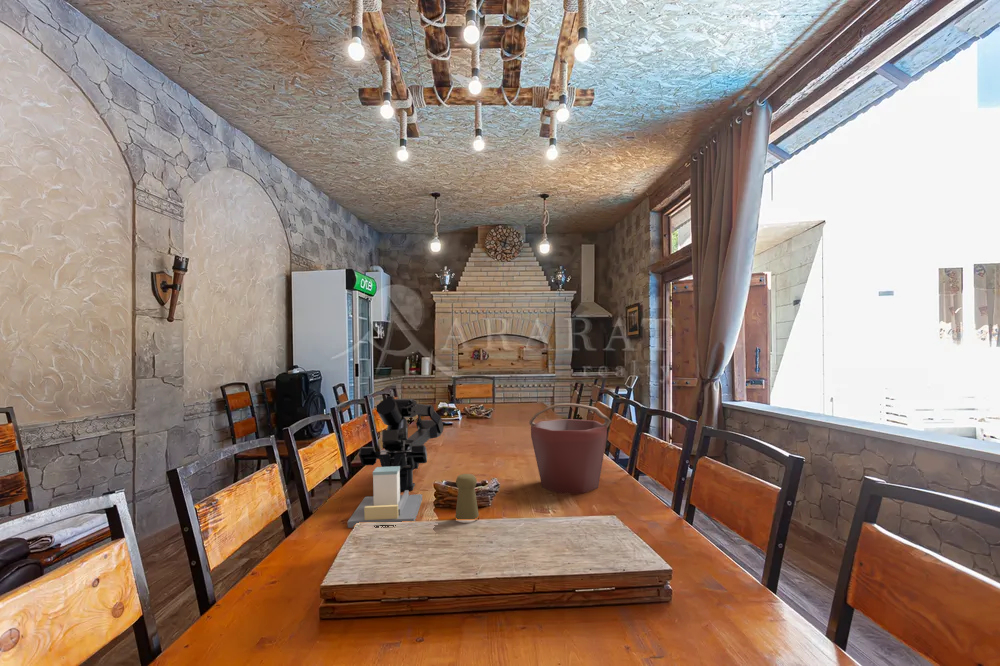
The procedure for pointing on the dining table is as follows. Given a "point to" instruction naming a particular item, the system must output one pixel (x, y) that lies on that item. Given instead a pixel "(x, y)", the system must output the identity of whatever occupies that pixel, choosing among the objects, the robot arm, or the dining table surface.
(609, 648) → the dining table surface
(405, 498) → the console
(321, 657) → the dining table surface
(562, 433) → the bucket
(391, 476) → the white teal-topped box
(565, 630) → the dining table surface
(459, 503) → the olive green pawn
